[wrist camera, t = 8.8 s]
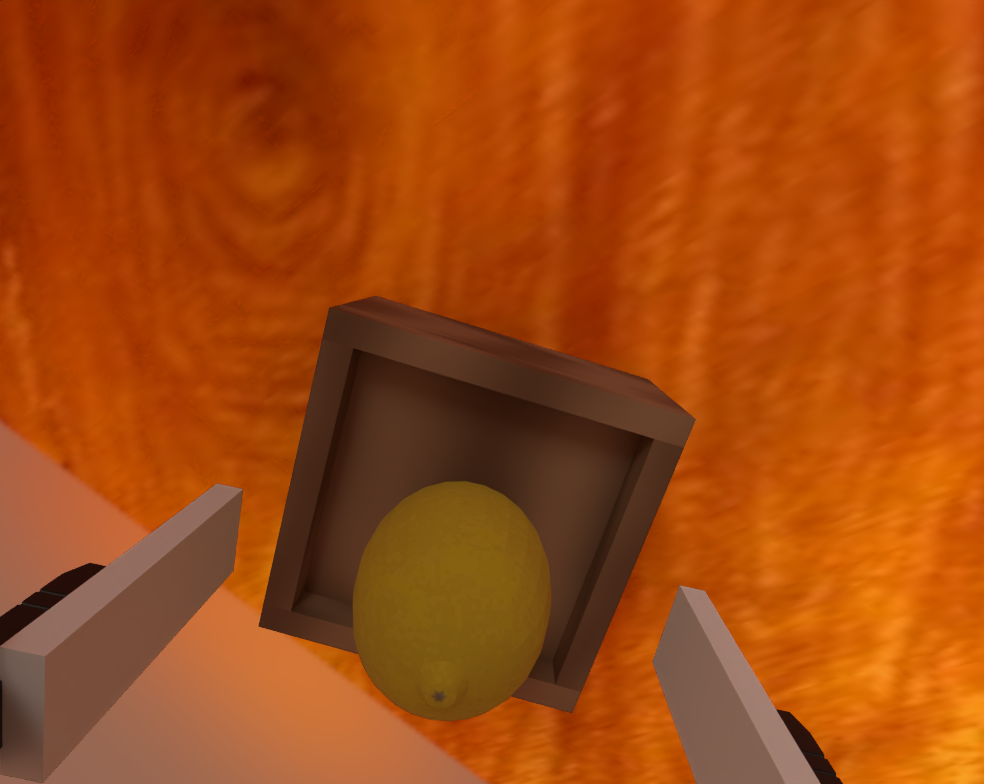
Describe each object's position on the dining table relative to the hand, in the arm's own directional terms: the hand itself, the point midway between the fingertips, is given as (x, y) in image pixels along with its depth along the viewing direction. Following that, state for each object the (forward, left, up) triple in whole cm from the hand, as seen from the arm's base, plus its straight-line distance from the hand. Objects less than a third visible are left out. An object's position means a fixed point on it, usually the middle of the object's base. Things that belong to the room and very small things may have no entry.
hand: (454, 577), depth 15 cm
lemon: (0, 0, -4) cm, 4 cm away
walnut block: (0, 0, -9) cm, 9 cm away
